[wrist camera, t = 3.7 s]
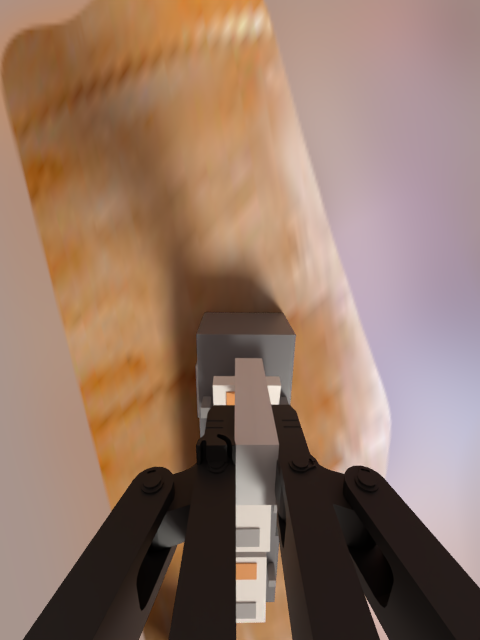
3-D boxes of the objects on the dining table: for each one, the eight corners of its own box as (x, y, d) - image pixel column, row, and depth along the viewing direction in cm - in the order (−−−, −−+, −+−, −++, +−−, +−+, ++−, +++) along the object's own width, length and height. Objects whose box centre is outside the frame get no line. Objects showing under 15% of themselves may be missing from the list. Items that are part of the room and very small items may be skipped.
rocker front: (271, 434, 20) (273, 451, 19) (216, 434, 20) (215, 451, 19) (278, 370, 17) (281, 386, 16) (214, 370, 17) (212, 386, 16)
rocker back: (263, 604, 24) (265, 623, 23) (218, 605, 24) (217, 624, 23) (265, 542, 24) (266, 558, 22) (218, 543, 24) (217, 558, 22)
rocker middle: (267, 536, 22) (270, 552, 20) (217, 536, 22) (215, 553, 20) (269, 464, 21) (271, 476, 20) (217, 464, 21) (215, 477, 20)
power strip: (268, 544, 31) (276, 620, 25) (208, 545, 31) (201, 621, 25) (283, 312, 23) (300, 342, 17) (200, 312, 23) (188, 341, 17)
